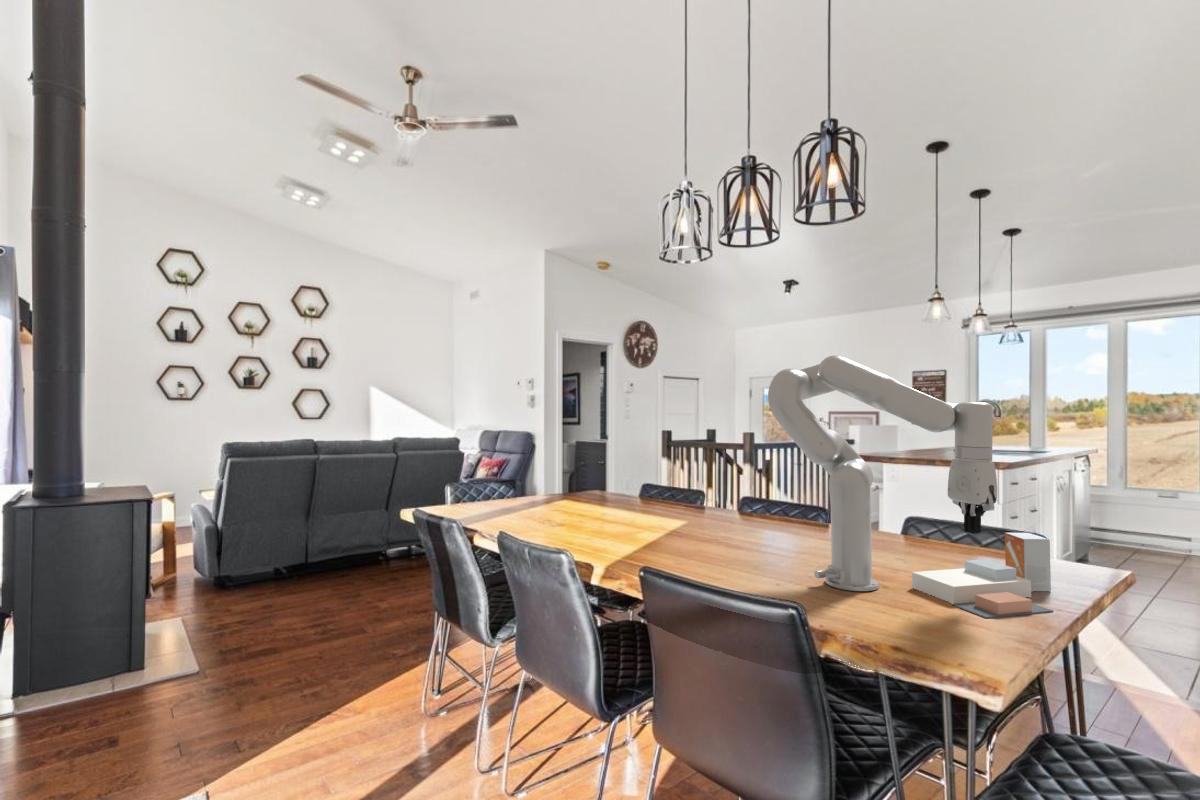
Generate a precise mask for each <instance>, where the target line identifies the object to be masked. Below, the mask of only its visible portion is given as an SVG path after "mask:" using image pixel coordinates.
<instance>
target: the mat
mask: <svg viewBox="0 0 1200 800" xmlns="http://www.w3.org/2000/svg"><path fill="white" fill-rule="evenodd" d="M951 605H952V606H953V605H954V606H953V607H955V606H956V607H955V608H958V607H959V608H958V609H960V608H961V610H964V611H966V612H968V613H971V614H974V615H976V616H979V617H981V618H983V619H992V618H993V619H995V618H1004V617H1016V616H1023V615H1024V616H1025V615H1035V614H1045V613H1046V612H1047V613H1054V610H1053V609H1050V608H1047V607H1044V606H1040V605H1038V604H1034V603H1032V612H1021V613H1011V614H1000V615H998V614H995V613H993V612H990V611H987V610H985V609H982V608H979V607H977V606H975V602H968V603H957V604H952V603H951ZM1047 613H1046V614H1047Z"/></svg>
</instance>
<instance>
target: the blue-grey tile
mask: <svg viewBox="0 0 1200 800" xmlns="http://www.w3.org/2000/svg"><path fill="white" fill-rule="evenodd" d="M964 568H965V571H967V572H971V573H974V574H977V575H980V576H984V577H987V578H990V579H993V580H1007V579H1016V568H1013V567H1010V566H1006V565H1005V564H1002V563H999V562H994V561H991V560H987V559H984V558H983V559H973V560H964Z"/></svg>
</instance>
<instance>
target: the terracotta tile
mask: <svg viewBox="0 0 1200 800" xmlns="http://www.w3.org/2000/svg"><path fill="white" fill-rule="evenodd" d="M1032 604H1033V600H1032V599H1030V598H1024V597H1021V596H1018V595H1015V594H1012V593H1009V592H1002V593H991V594H979V595H975V606H977V607H979V608H982V609H985V610H987V611H990V612H993V613H995V614H998V615H1000V614H1011V613H1021V612H1032Z"/></svg>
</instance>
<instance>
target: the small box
mask: <svg viewBox="0 0 1200 800" xmlns="http://www.w3.org/2000/svg"><path fill="white" fill-rule="evenodd" d="M1050 541H1051V540H1050V539H1049V538H1047V537H1046V538H1045V537H1044V536H1040V535H1037V534H1034V533H1030V532H1004V548H1005V549H1004V550H1005V552H1004V553H1005V554H1004V557H1005V563H1004V565H1006V566H1010V567H1013V568H1016V576H1017V577H1021V578H1024V579H1028V580H1031V592H1034V591H1049V592H1050V591H1051V592H1052V584H1051V583H1052V582H1051V579H1052V578H1051V547H1050V545H1051V544H1050V543H1051V542H1050ZM1049 592H1048V593H1049Z"/></svg>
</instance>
